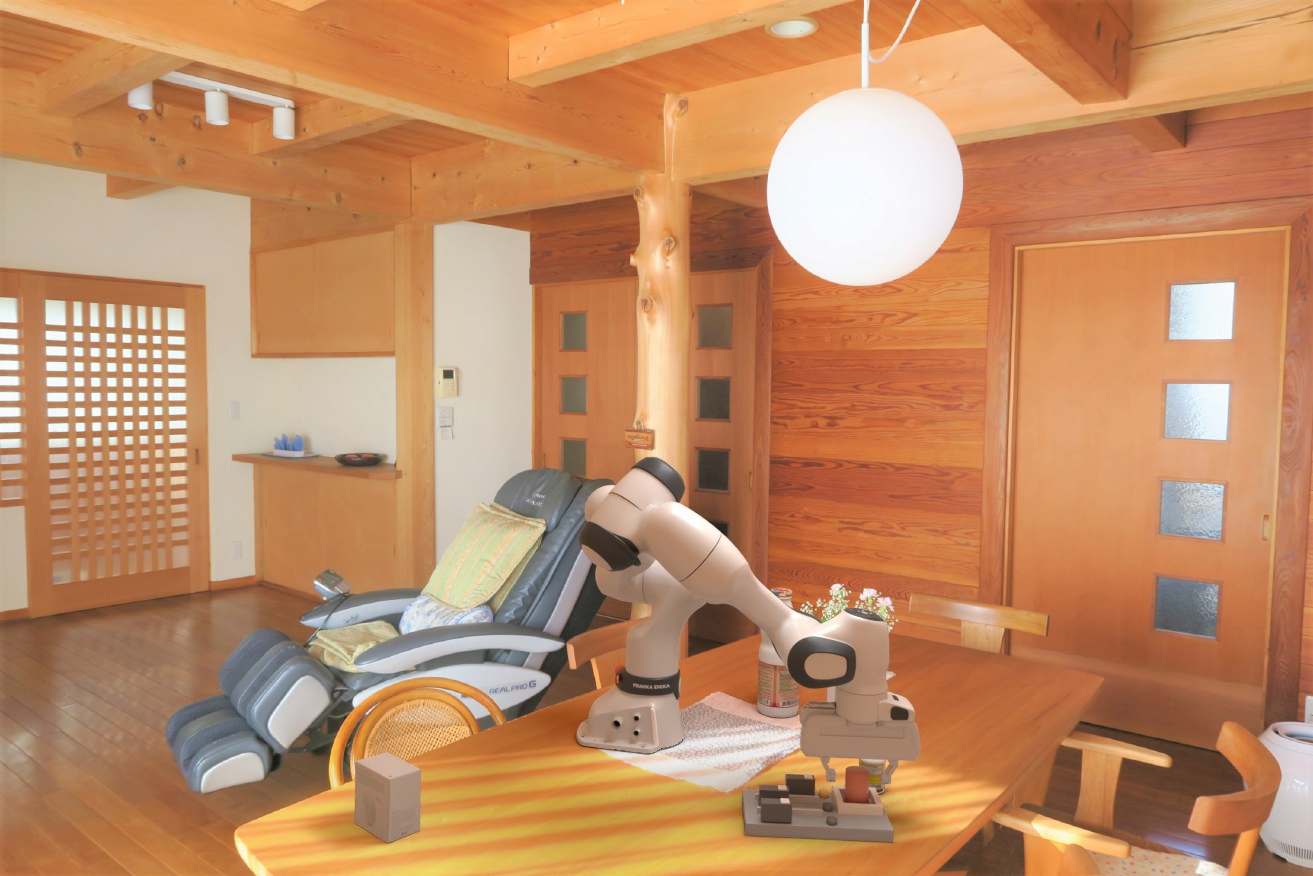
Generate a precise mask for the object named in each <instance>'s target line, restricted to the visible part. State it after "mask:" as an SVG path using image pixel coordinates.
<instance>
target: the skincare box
mask: <svg viewBox="0 0 1313 876" xmlns="http://www.w3.org/2000/svg"><path fill="white" fill-rule="evenodd" d="M421 787H422V769H421V768H420V767H417V766H416V765H413V764H411V763H410V762H407V761H405V760H403V759H401V758H399V757H397V756H396V755H394V754H391V753H390V752H387V751H385V752H383V753H379V754H376V755H372V756H369V757H365V758H362V759H361V758H360V759H358V760H355V762H354V811H353V812H354V815H353V823H355V824H356V825H357V826H358V827H360V828H362V829H364V830H365V831H367V832H369V833H370V834H371V835H374V836H375V837H377V838H378V839H380V840H382V842H384V843H386V844H389V843H392V842H394V841H396V840H397V841H398V840H400V839H403V838H405V837H407V836H410V835H413V834H414V833H415V834H416V833H417V832H419V831H420V830H421V796H422V795H421V792H422V791H421V790H422V789H421Z"/></svg>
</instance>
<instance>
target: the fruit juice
mask: <svg viewBox="0 0 1313 876" xmlns="http://www.w3.org/2000/svg"><path fill="white" fill-rule="evenodd" d="M770 591H771V592H772V593H773V594H775V595H776V596H777V597H778V598H779V599H780V600H782V601H783V602H784V603H785V604H786V605H788V606H789V607H791V608H793V609H794V607H793V604H792V598H793V590H792V589H790V588H787V587H774V588H771V590H770ZM759 631H760V635H761V636H760V637H761V642H760V645H759V647H758V665H757V666H758V668H757V670H758V671H757V672H758V673H757V675H758V676H757V697H756V699H757V700H756V705H757V711H758V712H759V713H760V714H761V715H764V716H767V717H770V718H775V717H776V718H778V719H784V718H785V719H788V718H793V717H794V716H796V715H798V713H799V707H800V686H801V685H800V684H798V683H797V682H796V681H795V680H794V679H793V678H792V676H791V675H790V674H789V672H788V670H787V669H786V667H785V665H784V663H783V661H782V660H781V659H780V657H779V656H778V655H777V653H776V651H775V649H774V647H773V644H772V642H771V640H770V638H769V636H768V635H767V634H766V633H765V632H764V631H763V630H762V629H761V628H760V627H759Z"/></svg>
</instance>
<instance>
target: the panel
mask: <svg viewBox="0 0 1313 876" xmlns="http://www.w3.org/2000/svg"><path fill="white" fill-rule="evenodd" d="M741 795H742V796H741V797H742V799H741V800H742V802H741V803H742V811H743V820H744V821H743V822H744V832H745V836H748V837H749V836H752V837H767V838H769V837H770V838H788V839H789V838H793V839H810V840H811V839H812V840H813V839H814V840H815V839H816V840H834V841H835V840H836V841H837V840H839V841H858V842H876V843H894V828H893V826H892V823H891V822H890V818H889V817H888V814H887V811H886V809H885V807H884V805H883V802H882V799H881V797H880V794H878V793H877V791H876V789H875V788H872V787H869V794H868V800H869V801H870V804H860V803H843V798H844V797H845V785H844V786H843V785H842V786H841V785H832V786H831V792H830V791H829V790H827V789H823V788H822V789H819V790H818V791H815V796H809V795H789V799H791V801H792V823H791V822H769V821H761V816H760V811H761V806H759V788H758V789H754V788H752V789H751V788H742V794H741Z"/></svg>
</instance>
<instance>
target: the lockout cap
mask: <svg viewBox="0 0 1313 876" xmlns="http://www.w3.org/2000/svg"><path fill="white" fill-rule="evenodd" d="M844 772H845V773H844V774H845V777H844V779H845V780H844V786H845V797H844V798H843V803H860V804H870V801H869V800H868V794H869V770H868V769H866V768H864V767H860V766H859V765H851V766H847V767H845V771H844Z"/></svg>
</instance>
